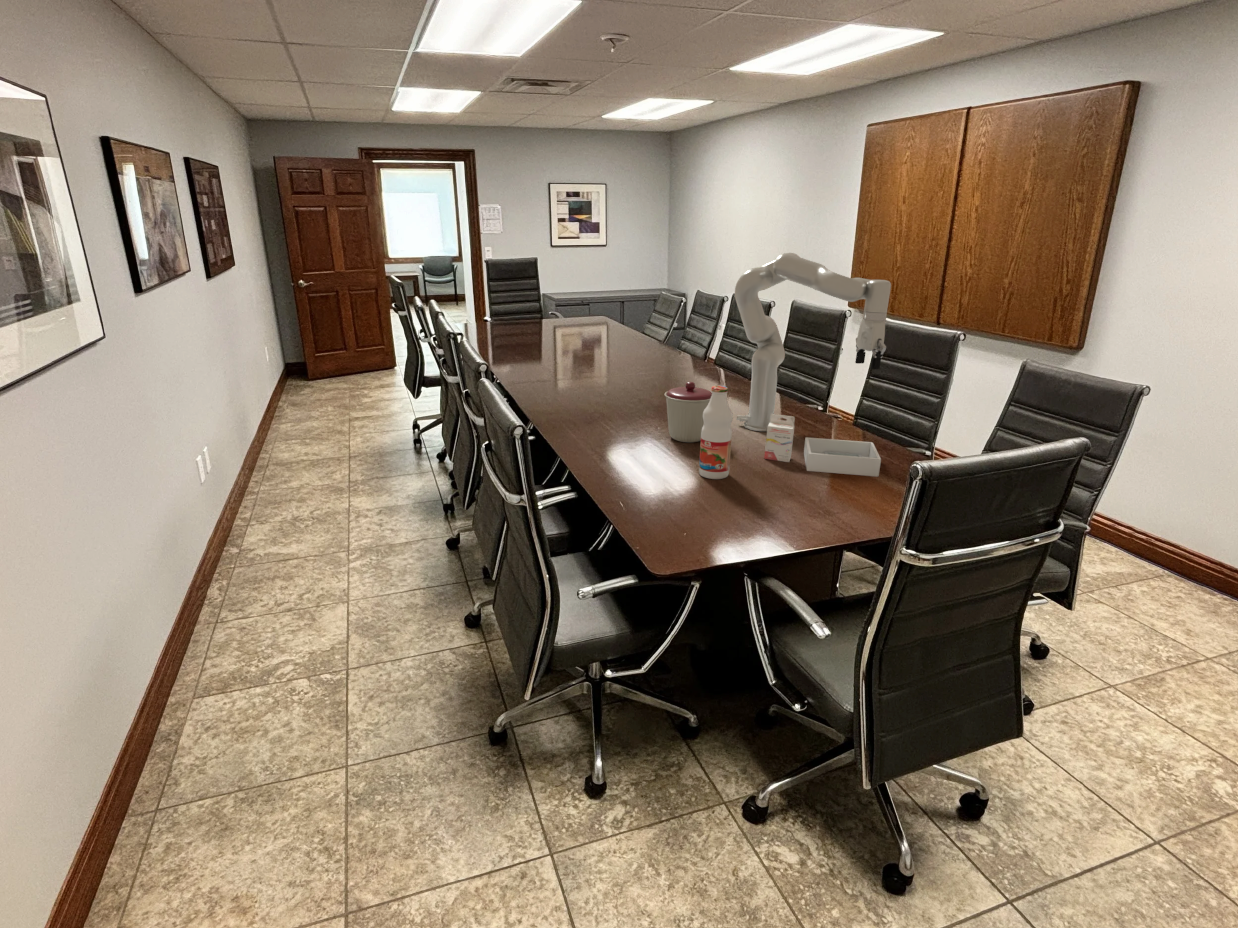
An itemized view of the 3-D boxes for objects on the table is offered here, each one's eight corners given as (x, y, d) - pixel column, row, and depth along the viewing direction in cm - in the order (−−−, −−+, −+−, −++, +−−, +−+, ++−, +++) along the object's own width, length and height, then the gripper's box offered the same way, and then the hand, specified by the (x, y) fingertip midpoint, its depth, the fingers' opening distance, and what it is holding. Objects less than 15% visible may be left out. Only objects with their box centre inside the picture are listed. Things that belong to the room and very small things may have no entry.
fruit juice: (734, 475, 217) (742, 387, 207) (715, 482, 211) (722, 392, 201) (711, 467, 223) (717, 382, 214) (692, 473, 217) (697, 386, 208)
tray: (806, 470, 222) (808, 453, 220) (803, 453, 238) (805, 437, 237) (878, 476, 218) (881, 459, 216) (870, 458, 235) (872, 442, 233)
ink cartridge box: (763, 459, 232) (767, 417, 227) (765, 455, 236) (769, 413, 231) (789, 462, 229) (794, 419, 224) (791, 458, 234) (795, 416, 229)
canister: (718, 435, 256) (722, 379, 249) (703, 449, 241) (706, 390, 234) (672, 429, 264) (675, 374, 257) (655, 441, 248) (657, 384, 241)
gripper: (851, 313, 245) (844, 361, 251) (879, 320, 229) (871, 371, 235) (870, 313, 247) (863, 361, 252) (899, 320, 231) (890, 371, 236)
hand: (867, 366), depth 244 cm, fingers open, 9 cm apart
